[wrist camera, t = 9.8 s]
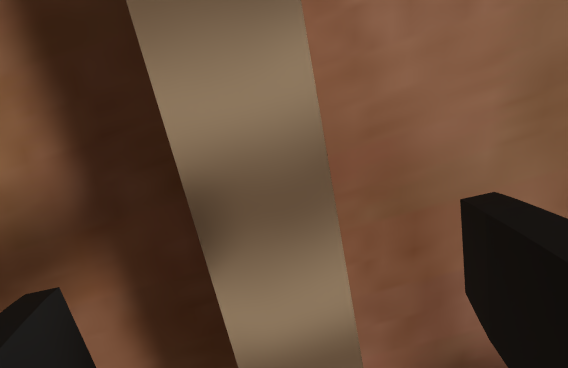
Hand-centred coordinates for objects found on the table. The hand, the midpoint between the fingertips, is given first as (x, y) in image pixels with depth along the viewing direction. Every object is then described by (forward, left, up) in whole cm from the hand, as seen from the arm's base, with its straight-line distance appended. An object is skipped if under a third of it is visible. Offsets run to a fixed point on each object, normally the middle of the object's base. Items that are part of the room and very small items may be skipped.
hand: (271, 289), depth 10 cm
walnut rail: (+1, 0, -9) cm, 9 cm away
